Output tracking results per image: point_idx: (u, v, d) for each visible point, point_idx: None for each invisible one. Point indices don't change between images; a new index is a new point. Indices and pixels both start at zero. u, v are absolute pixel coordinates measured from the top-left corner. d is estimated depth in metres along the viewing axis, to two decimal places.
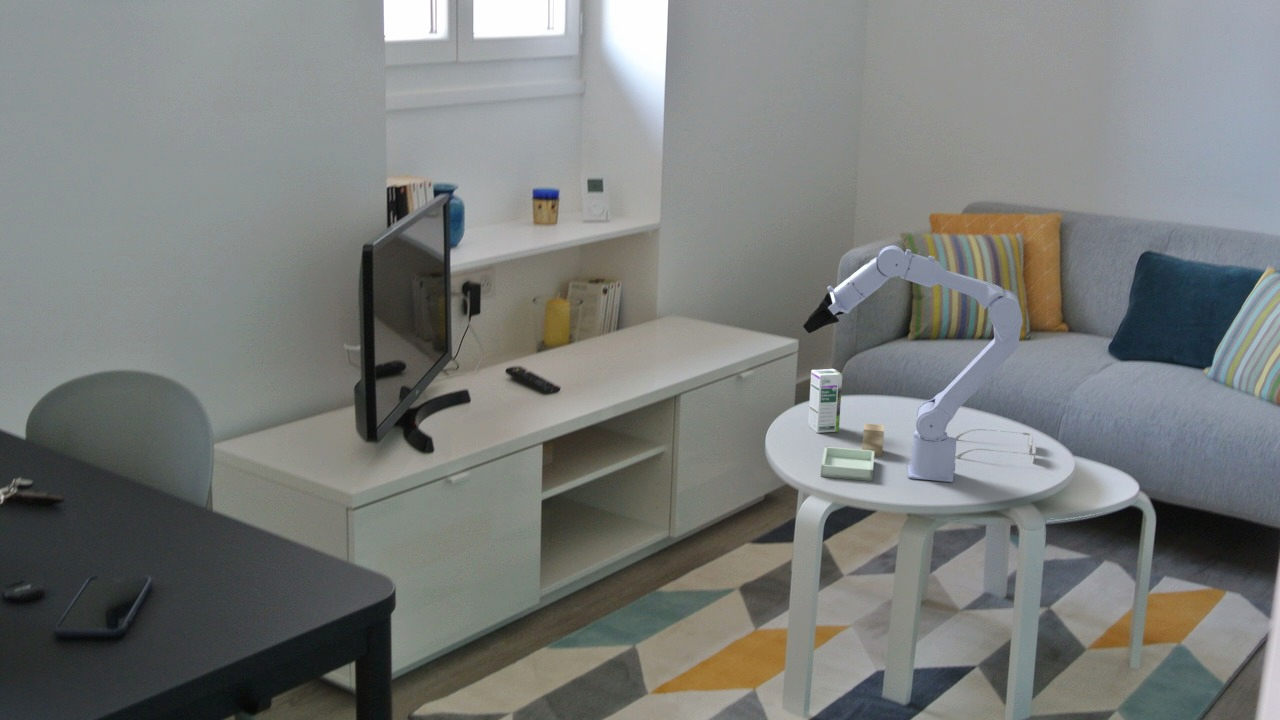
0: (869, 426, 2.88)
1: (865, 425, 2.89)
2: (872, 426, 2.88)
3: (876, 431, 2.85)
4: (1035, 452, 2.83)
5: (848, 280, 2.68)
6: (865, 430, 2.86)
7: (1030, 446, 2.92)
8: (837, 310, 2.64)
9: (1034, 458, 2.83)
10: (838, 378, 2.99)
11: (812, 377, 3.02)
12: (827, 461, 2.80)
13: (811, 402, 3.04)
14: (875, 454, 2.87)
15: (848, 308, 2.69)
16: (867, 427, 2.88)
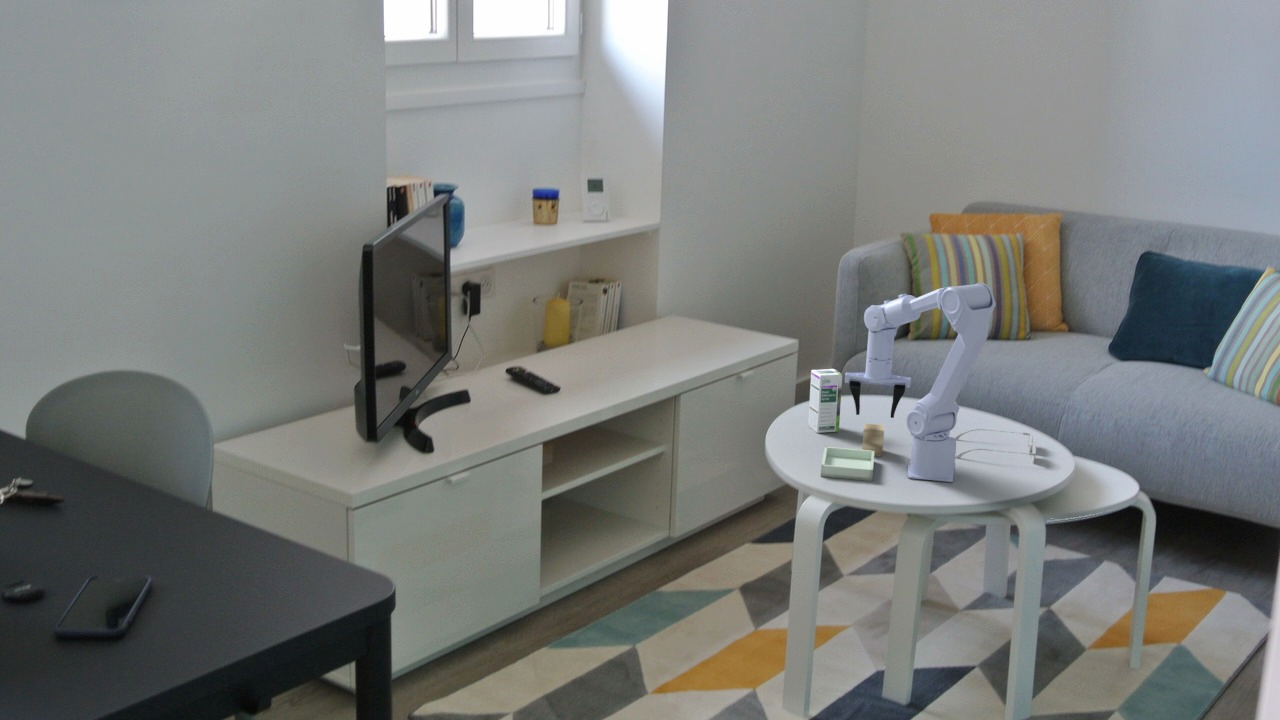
0: (869, 426, 2.88)
1: (865, 425, 2.89)
2: (872, 426, 2.88)
3: (876, 431, 2.85)
4: (1035, 452, 2.83)
5: None
6: (865, 430, 2.86)
7: (1030, 446, 2.92)
8: (845, 377, 2.85)
9: (1034, 458, 2.83)
10: (838, 378, 2.99)
11: (812, 377, 3.02)
12: (827, 461, 2.80)
13: (811, 402, 3.04)
14: (875, 454, 2.87)
15: (869, 376, 2.83)
16: (867, 427, 2.88)
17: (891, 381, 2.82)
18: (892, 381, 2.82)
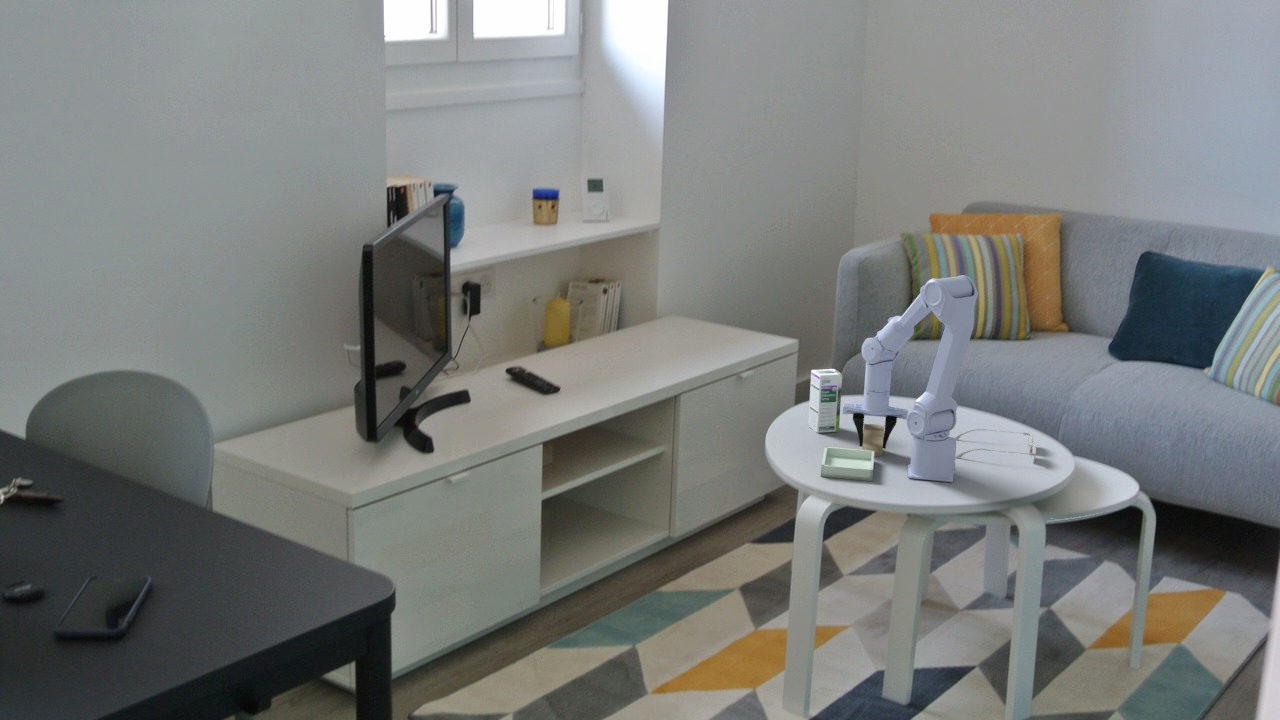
0: (869, 426, 2.88)
1: (865, 425, 2.89)
2: (872, 426, 2.88)
3: (876, 431, 2.85)
4: (1035, 452, 2.83)
5: None
6: (865, 430, 2.86)
7: (1030, 446, 2.92)
8: (843, 408, 2.87)
9: (1034, 458, 2.83)
10: (838, 378, 2.99)
11: (812, 377, 3.02)
12: (827, 461, 2.80)
13: (811, 402, 3.04)
14: (875, 454, 2.87)
15: (867, 408, 2.85)
16: (867, 426, 2.88)
17: (888, 413, 2.84)
18: (889, 413, 2.84)
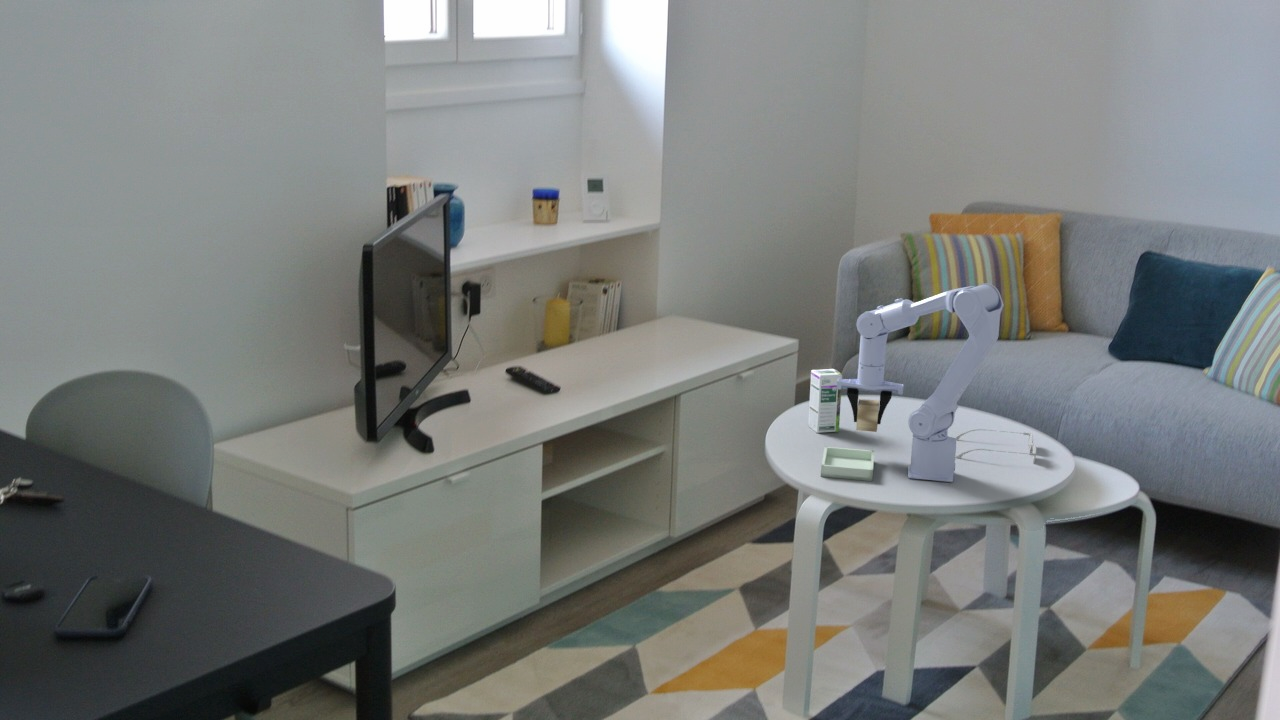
0: (864, 401, 2.83)
1: (860, 400, 2.83)
2: (867, 402, 2.82)
3: (871, 406, 2.80)
4: (1035, 452, 2.83)
5: None
6: (859, 405, 2.80)
7: (1030, 446, 2.92)
8: (837, 383, 2.82)
9: (1034, 458, 2.83)
10: (838, 378, 2.99)
11: (812, 377, 3.02)
12: (827, 461, 2.80)
13: (811, 402, 3.04)
14: (870, 430, 2.81)
15: (861, 382, 2.79)
16: (861, 402, 2.82)
17: (883, 388, 2.78)
18: (884, 388, 2.78)
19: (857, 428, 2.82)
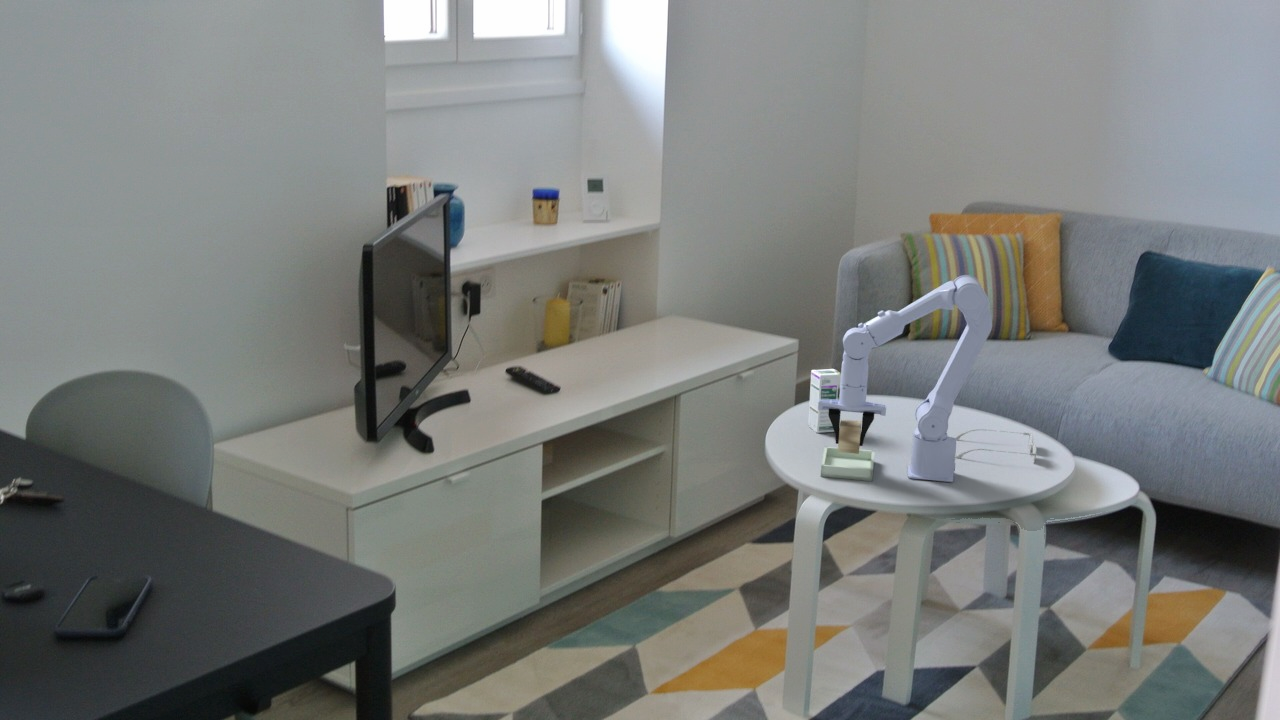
0: (846, 422, 2.76)
1: (841, 421, 2.76)
2: (849, 422, 2.76)
3: (853, 428, 2.73)
4: (1035, 452, 2.83)
5: None
6: (841, 426, 2.73)
7: None
8: (818, 404, 2.75)
9: (1034, 458, 2.83)
10: (838, 378, 2.99)
11: (812, 377, 3.02)
12: (827, 461, 2.80)
13: (811, 402, 3.04)
14: (852, 451, 2.74)
15: (843, 403, 2.72)
16: (843, 423, 2.75)
17: (866, 409, 2.71)
18: (867, 409, 2.71)
19: (839, 450, 2.75)
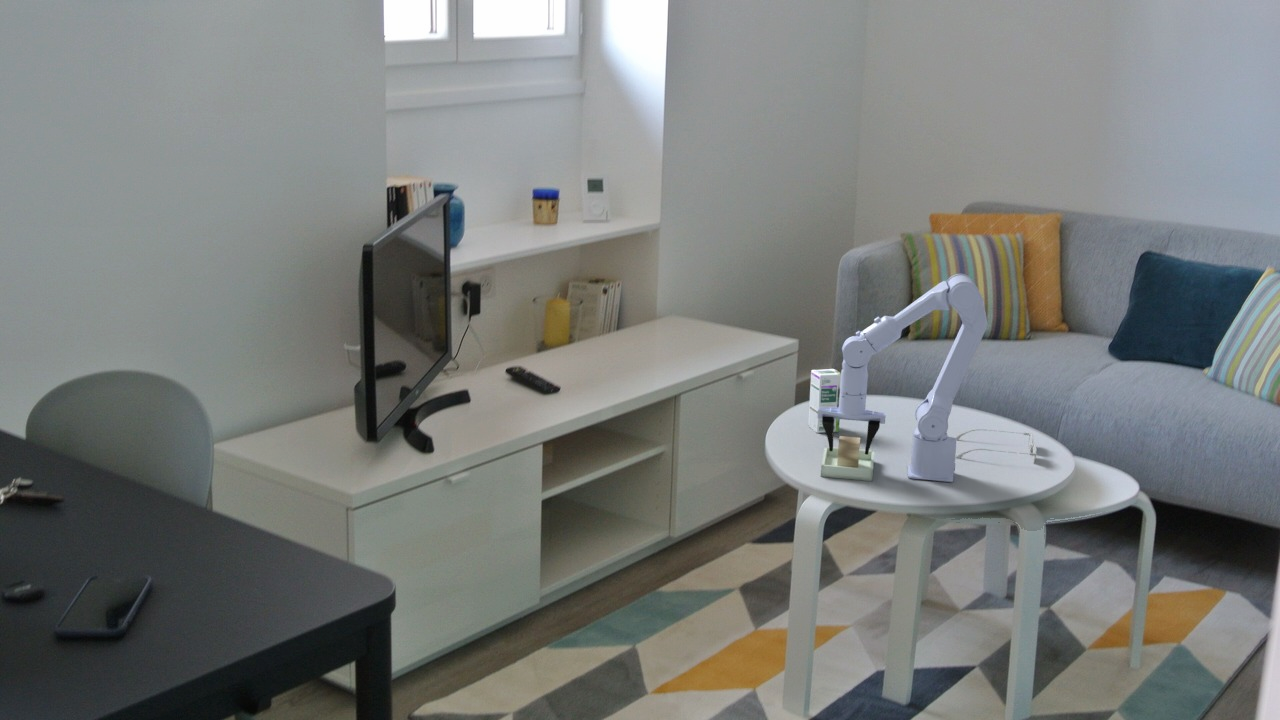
0: (844, 439, 2.77)
1: (840, 437, 2.77)
2: (847, 439, 2.76)
3: (852, 444, 2.74)
4: (1036, 452, 2.83)
5: None
6: (840, 443, 2.74)
7: None
8: None
9: (1035, 458, 2.83)
10: (838, 378, 2.99)
11: (812, 377, 3.02)
12: (827, 461, 2.80)
13: (811, 402, 3.04)
14: None
15: (843, 412, 2.72)
16: (842, 439, 2.76)
17: (865, 417, 2.72)
18: (866, 417, 2.72)
19: None
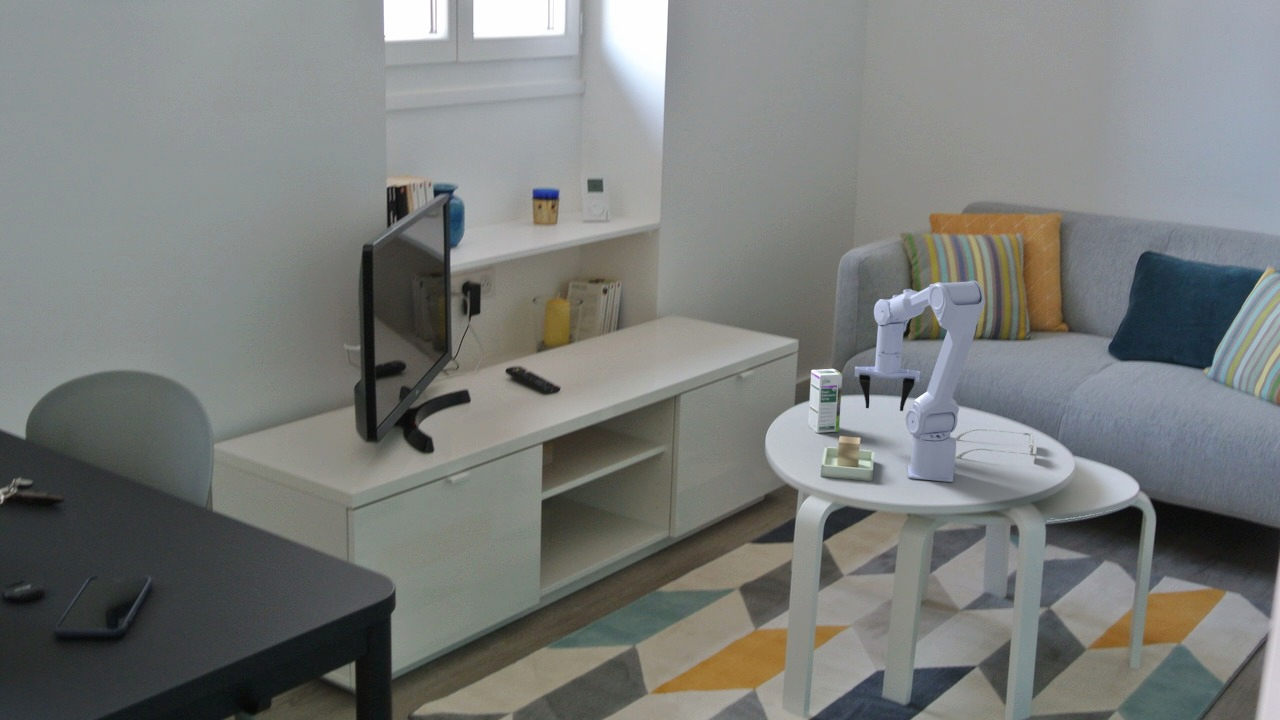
0: (844, 439, 2.77)
1: (840, 437, 2.77)
2: (847, 439, 2.76)
3: (852, 444, 2.74)
4: (1036, 452, 2.83)
5: None
6: (840, 443, 2.74)
7: (1031, 446, 2.92)
8: (855, 370, 2.89)
9: (1035, 458, 2.83)
10: (838, 378, 2.99)
11: (812, 377, 3.02)
12: (827, 461, 2.80)
13: (811, 402, 3.04)
14: None
15: (879, 370, 2.86)
16: (842, 439, 2.76)
17: (900, 375, 2.85)
18: (901, 375, 2.85)
19: None
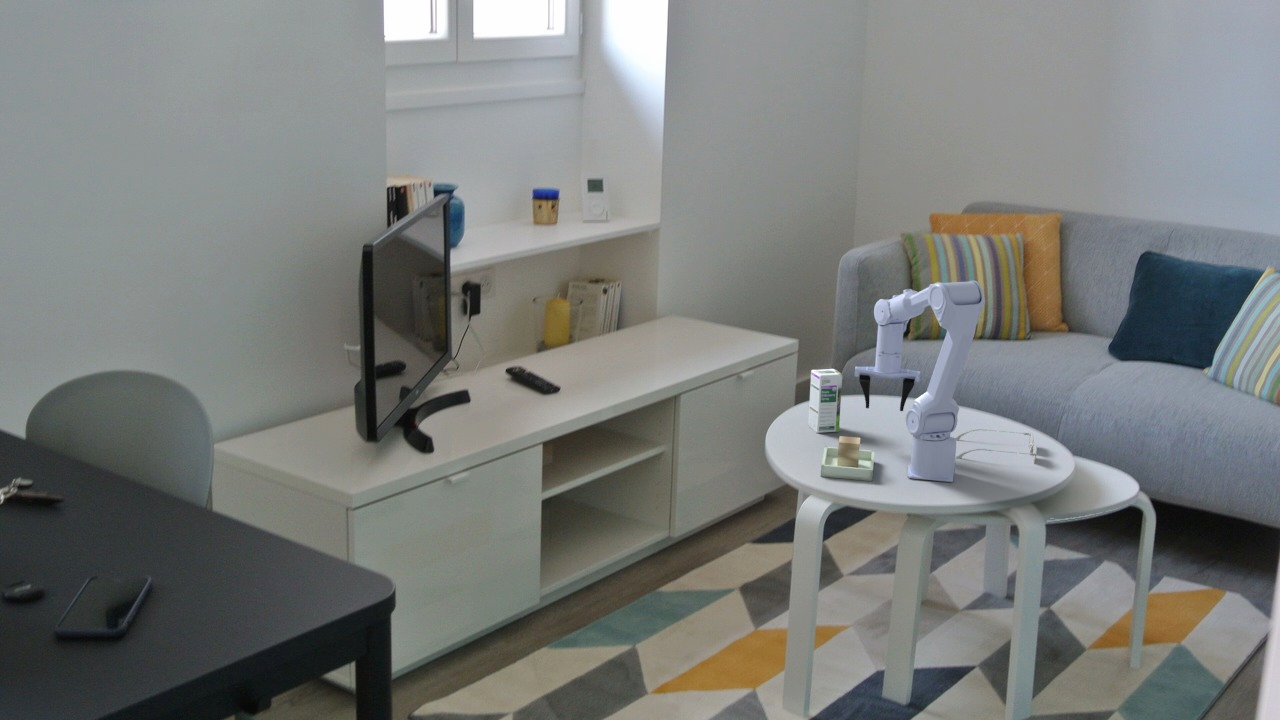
0: (844, 439, 2.77)
1: (840, 437, 2.77)
2: (847, 439, 2.76)
3: (852, 444, 2.74)
4: (1036, 452, 2.83)
5: None
6: (840, 443, 2.74)
7: (1031, 446, 2.92)
8: (855, 370, 2.89)
9: (1035, 458, 2.83)
10: (838, 378, 2.99)
11: (812, 377, 3.02)
12: (827, 461, 2.80)
13: (811, 402, 3.04)
14: None
15: (879, 370, 2.86)
16: (842, 439, 2.76)
17: (900, 375, 2.85)
18: (901, 375, 2.85)
19: None
